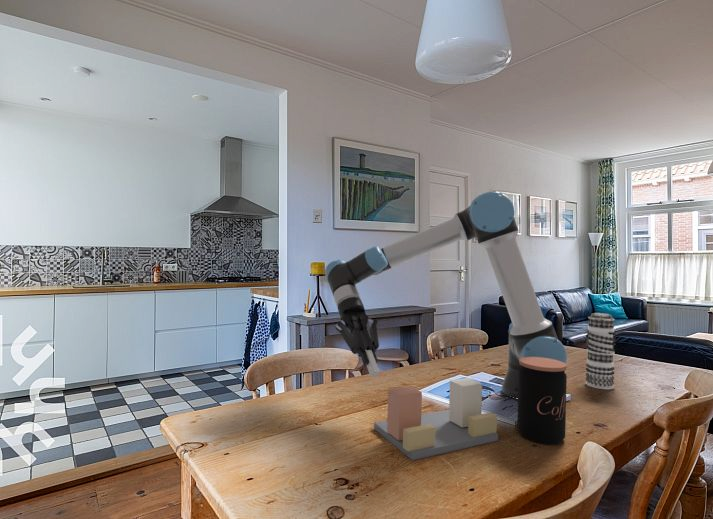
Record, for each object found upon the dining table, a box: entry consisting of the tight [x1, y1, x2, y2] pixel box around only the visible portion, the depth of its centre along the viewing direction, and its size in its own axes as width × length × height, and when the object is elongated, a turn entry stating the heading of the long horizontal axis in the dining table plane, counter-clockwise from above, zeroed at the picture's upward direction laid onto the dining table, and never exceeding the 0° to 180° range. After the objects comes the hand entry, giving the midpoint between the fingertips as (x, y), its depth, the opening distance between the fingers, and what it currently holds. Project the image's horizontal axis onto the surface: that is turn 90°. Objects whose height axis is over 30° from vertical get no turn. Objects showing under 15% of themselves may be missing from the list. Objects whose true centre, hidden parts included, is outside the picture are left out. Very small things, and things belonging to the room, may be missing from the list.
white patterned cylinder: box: [585, 312, 617, 390], centre depth 139 cm, size 9×9×25 cm
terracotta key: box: [387, 385, 423, 441], centre depth 92 cm, size 5×6×10 cm
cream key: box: [448, 377, 483, 428], centre depth 100 cm, size 5×6×10 cm
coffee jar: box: [516, 357, 568, 445], centre depth 97 cm, size 11×11×18 cm
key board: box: [373, 409, 499, 461], centre depth 97 cm, size 17×25×6 cm
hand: (375, 374), depth 105 cm, fingers closed
